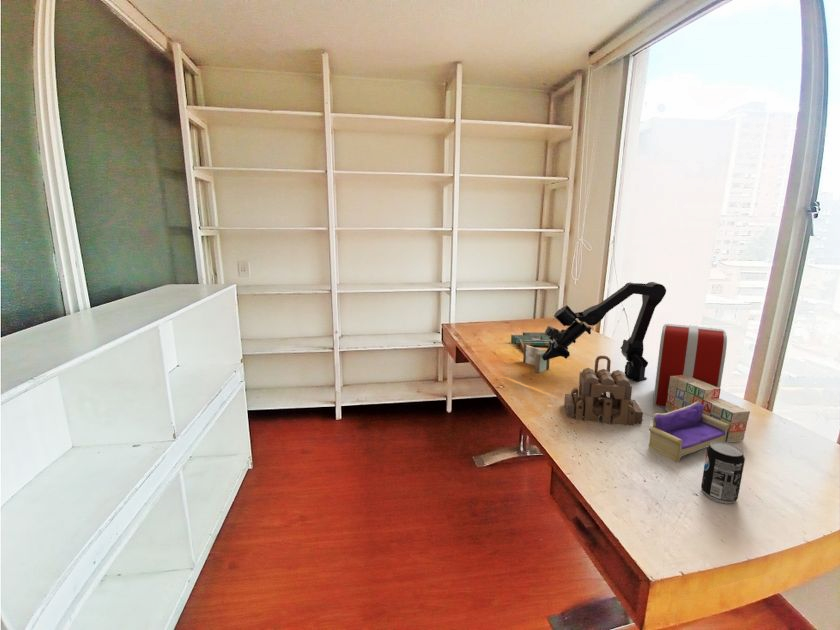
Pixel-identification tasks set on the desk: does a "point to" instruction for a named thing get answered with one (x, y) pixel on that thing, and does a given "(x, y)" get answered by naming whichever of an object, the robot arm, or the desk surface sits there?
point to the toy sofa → (685, 431)
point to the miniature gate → (530, 339)
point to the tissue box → (689, 357)
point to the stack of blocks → (707, 404)
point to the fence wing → (540, 363)
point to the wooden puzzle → (603, 397)
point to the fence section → (532, 355)
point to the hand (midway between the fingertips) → (543, 359)
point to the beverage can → (722, 472)
